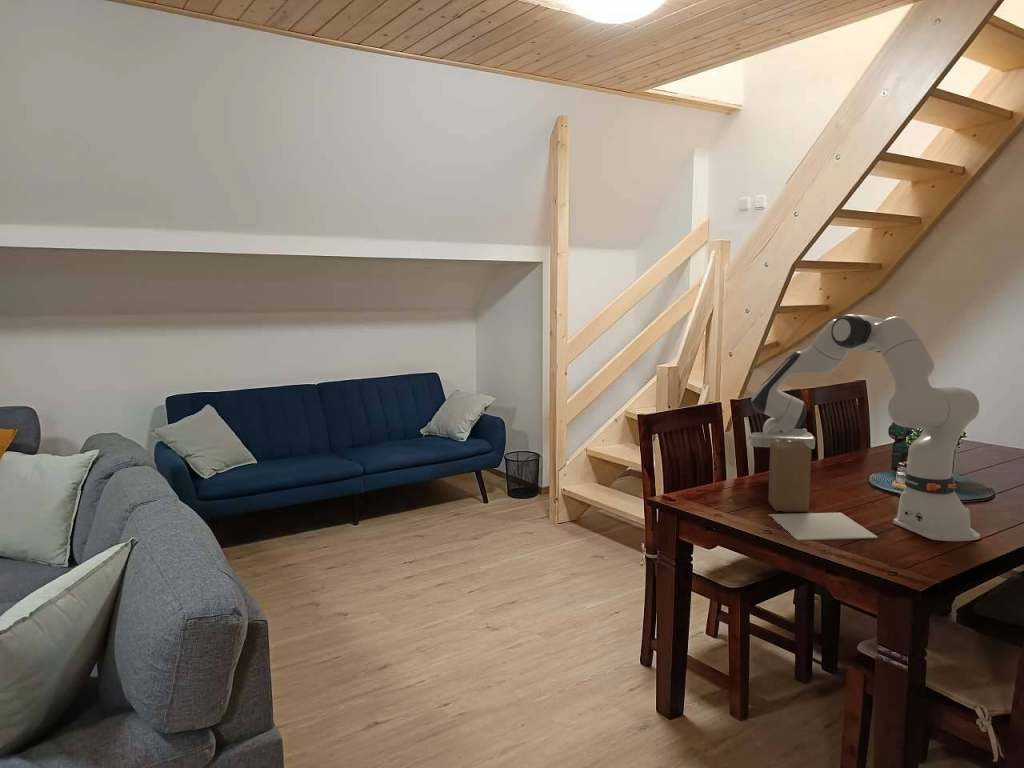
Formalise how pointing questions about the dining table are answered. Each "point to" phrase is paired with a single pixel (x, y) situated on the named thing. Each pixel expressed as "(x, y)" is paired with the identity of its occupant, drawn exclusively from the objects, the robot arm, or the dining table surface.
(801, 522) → the mat
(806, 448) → the block
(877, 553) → the dining table surface
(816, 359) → the robot arm
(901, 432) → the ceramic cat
